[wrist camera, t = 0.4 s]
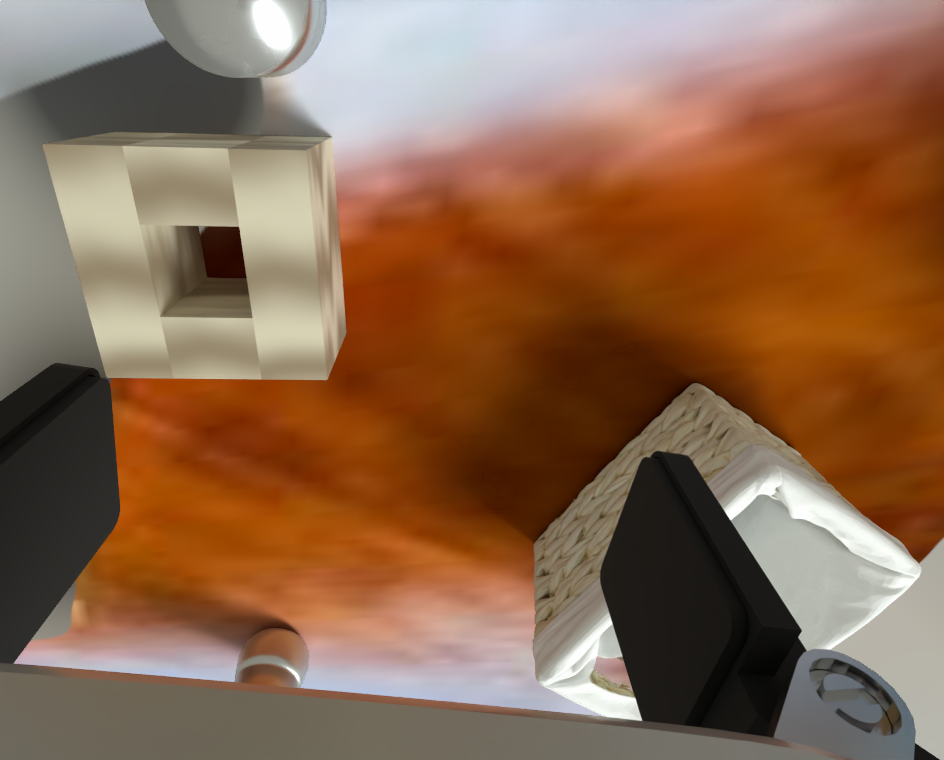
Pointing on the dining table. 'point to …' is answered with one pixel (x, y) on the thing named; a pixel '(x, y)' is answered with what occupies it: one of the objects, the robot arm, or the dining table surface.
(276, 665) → the plastic bottle
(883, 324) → the dining table surface
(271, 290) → the block
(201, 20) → the silver metal cylinder
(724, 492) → the storage basket
